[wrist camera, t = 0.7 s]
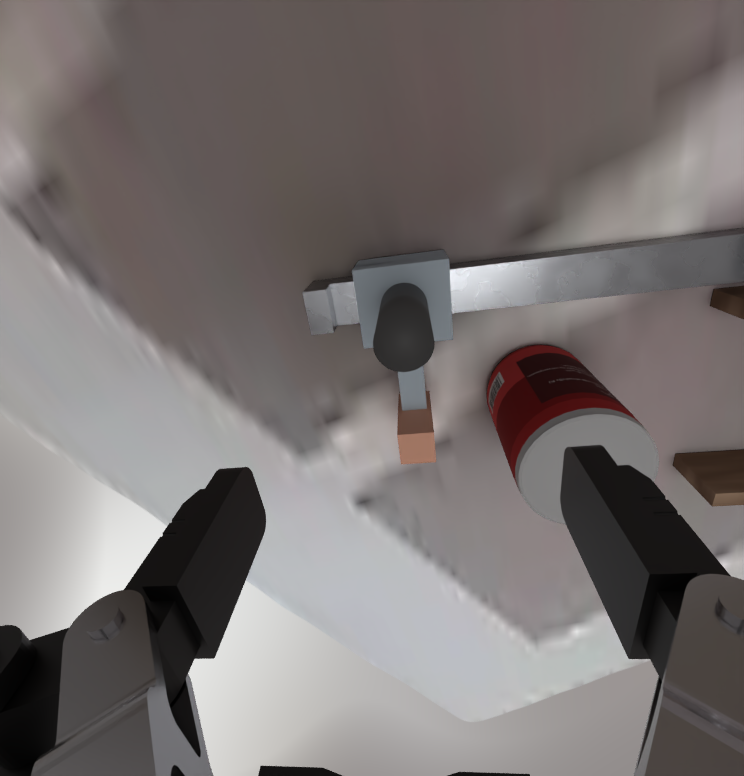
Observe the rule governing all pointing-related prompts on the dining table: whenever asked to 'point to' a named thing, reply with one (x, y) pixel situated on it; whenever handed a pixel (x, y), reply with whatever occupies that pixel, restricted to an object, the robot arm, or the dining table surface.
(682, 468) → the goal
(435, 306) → the grey block with post
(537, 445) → the canned food
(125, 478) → the dining table surface
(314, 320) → the rail
